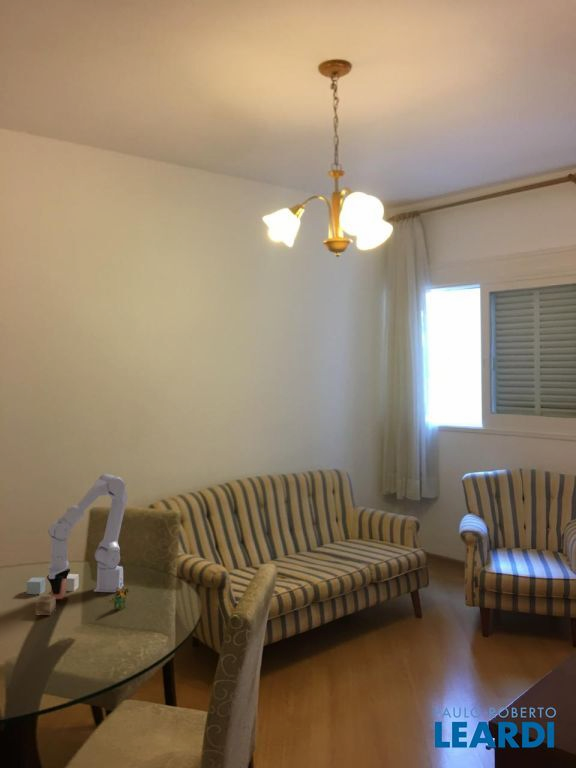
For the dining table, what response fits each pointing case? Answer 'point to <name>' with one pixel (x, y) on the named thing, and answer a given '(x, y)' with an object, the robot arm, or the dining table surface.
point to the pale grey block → (72, 582)
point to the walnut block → (45, 605)
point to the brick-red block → (62, 591)
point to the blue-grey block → (36, 585)
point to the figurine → (120, 597)
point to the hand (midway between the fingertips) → (58, 591)
